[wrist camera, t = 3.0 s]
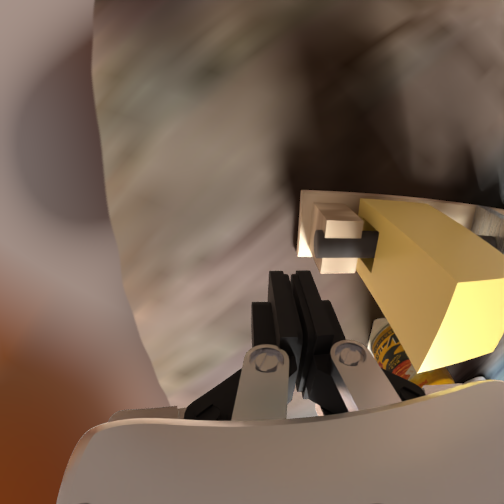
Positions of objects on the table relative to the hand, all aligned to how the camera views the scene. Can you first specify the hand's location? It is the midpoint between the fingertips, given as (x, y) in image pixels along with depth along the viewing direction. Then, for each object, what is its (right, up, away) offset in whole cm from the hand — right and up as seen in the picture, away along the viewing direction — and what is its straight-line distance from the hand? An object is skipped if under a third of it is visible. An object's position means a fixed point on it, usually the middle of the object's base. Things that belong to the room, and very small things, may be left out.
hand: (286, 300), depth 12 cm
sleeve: (+9, +4, +8) cm, 13 cm away
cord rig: (+14, +4, +10) cm, 18 cm away
